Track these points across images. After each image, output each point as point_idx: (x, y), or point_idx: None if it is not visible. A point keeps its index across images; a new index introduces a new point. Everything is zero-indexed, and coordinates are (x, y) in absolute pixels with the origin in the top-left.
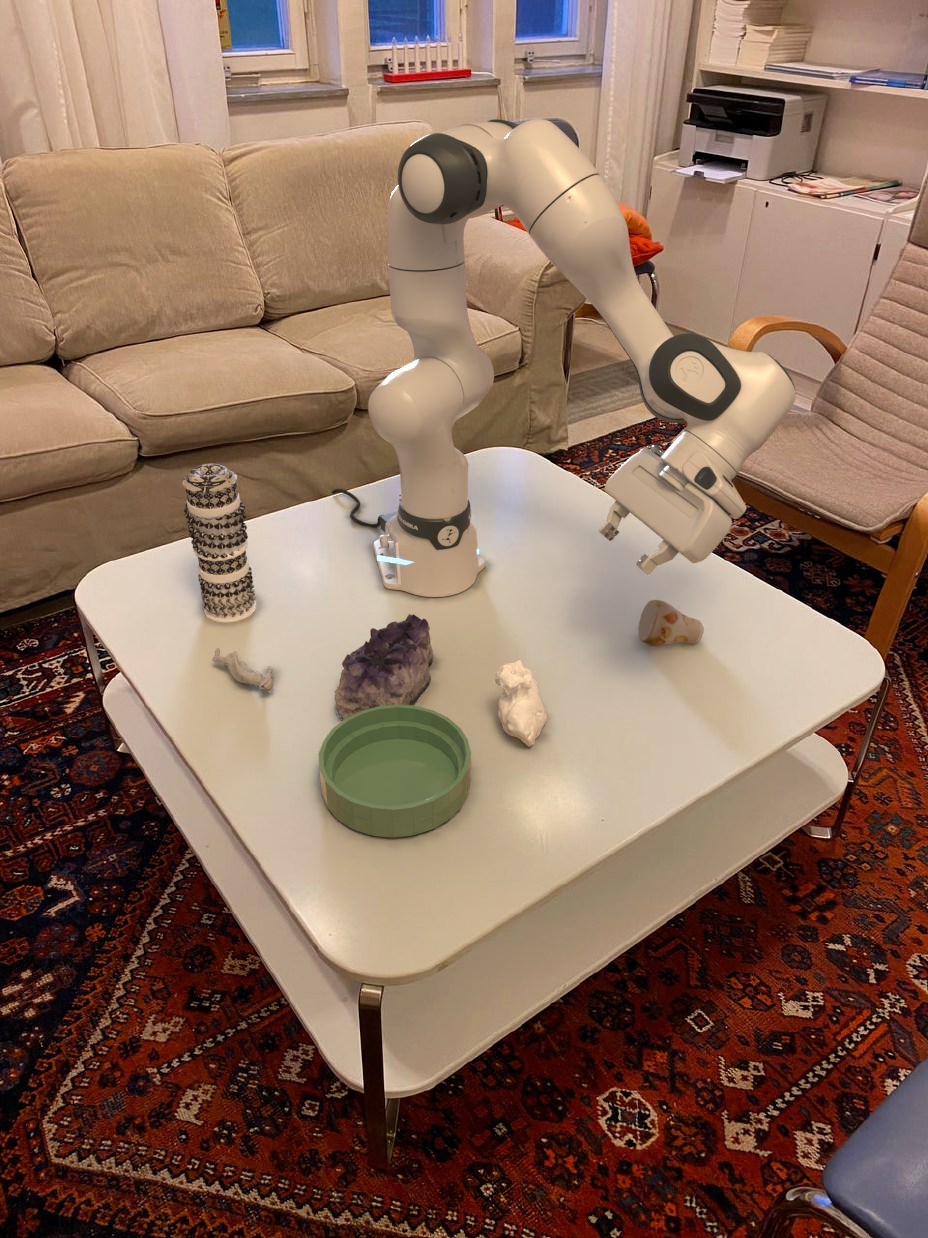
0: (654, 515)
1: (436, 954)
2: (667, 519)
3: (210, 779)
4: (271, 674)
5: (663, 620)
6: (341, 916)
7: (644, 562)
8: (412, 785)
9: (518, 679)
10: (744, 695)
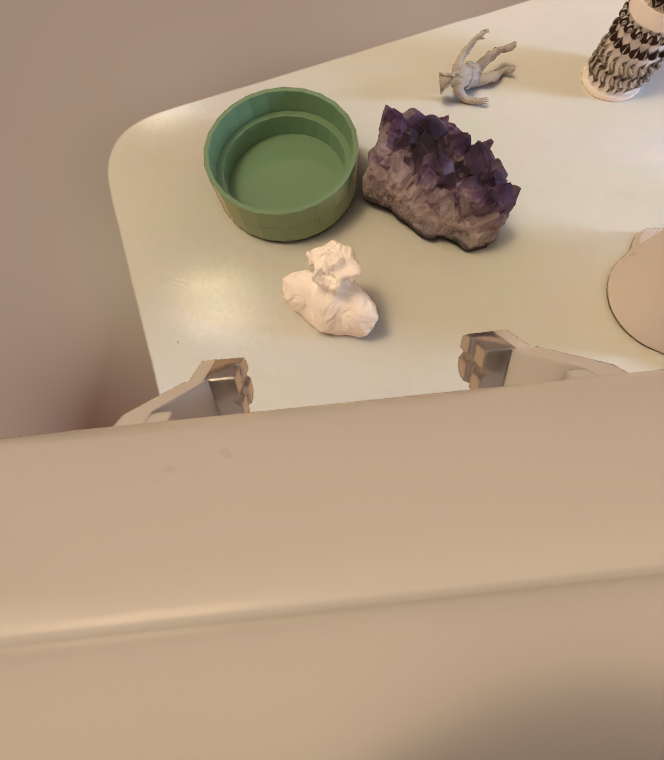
0: (288, 447)
1: (110, 178)
2: (145, 489)
3: (342, 58)
4: (452, 75)
5: None
6: (169, 127)
7: (205, 367)
8: (277, 192)
9: (319, 261)
10: None
